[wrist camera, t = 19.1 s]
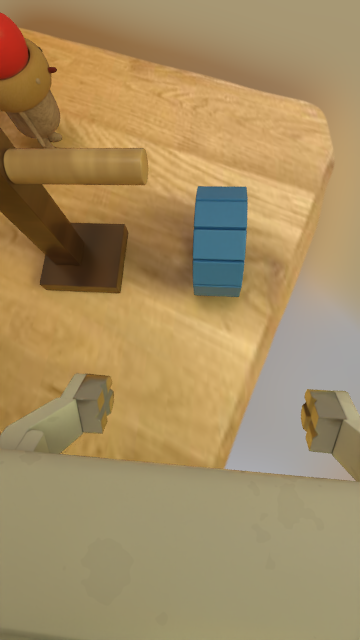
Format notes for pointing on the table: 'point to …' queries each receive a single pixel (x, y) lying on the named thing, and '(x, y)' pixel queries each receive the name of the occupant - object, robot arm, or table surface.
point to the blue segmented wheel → (219, 240)
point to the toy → (27, 86)
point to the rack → (51, 224)
